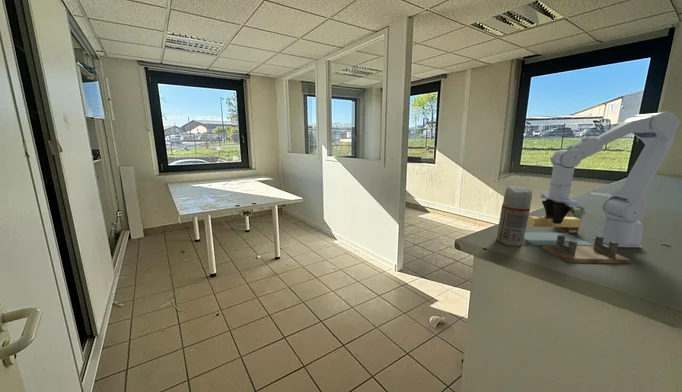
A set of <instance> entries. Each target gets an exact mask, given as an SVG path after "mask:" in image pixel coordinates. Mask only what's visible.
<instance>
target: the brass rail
mask: <svg viewBox="0 0 682 392" xmlns="http://www.w3.org/2000/svg"><path fill="white" fill-rule="evenodd" d="M580 221H581V222H582V220H581V219H578V218H576V217H564V219H563V221H562V223H561V224H555V223H554V217H550V216H546V215H545V216H543V215H540V216H539V215H537V216H536V215H535V216H534V215H529V216H528V221H527V225H530V226H531V227H534V228H535V227H538V228H543V227H544V228H557V227H579V228H580V225H581V223H580Z"/></svg>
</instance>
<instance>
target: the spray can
mask: <svg viewBox="0 0 682 392" xmlns="http://www.w3.org/2000/svg"><path fill="white" fill-rule="evenodd" d="M503 196H504V197H503V203H502V205H501V210H500V216H499V222H498V227H497V235H496V236H497V237H496V239H495V240H496V241H497V242H498V243H501V244H503V245H506V246H510V247H522V246H523V242H524V235H525V232H526V230H527V225H528V220H529V216H530V210H531V205H532V199H533V189H531V188H528V187H526V186H523V185H508V186H507V187H506V189H505V192H504V195H503Z"/></svg>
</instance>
